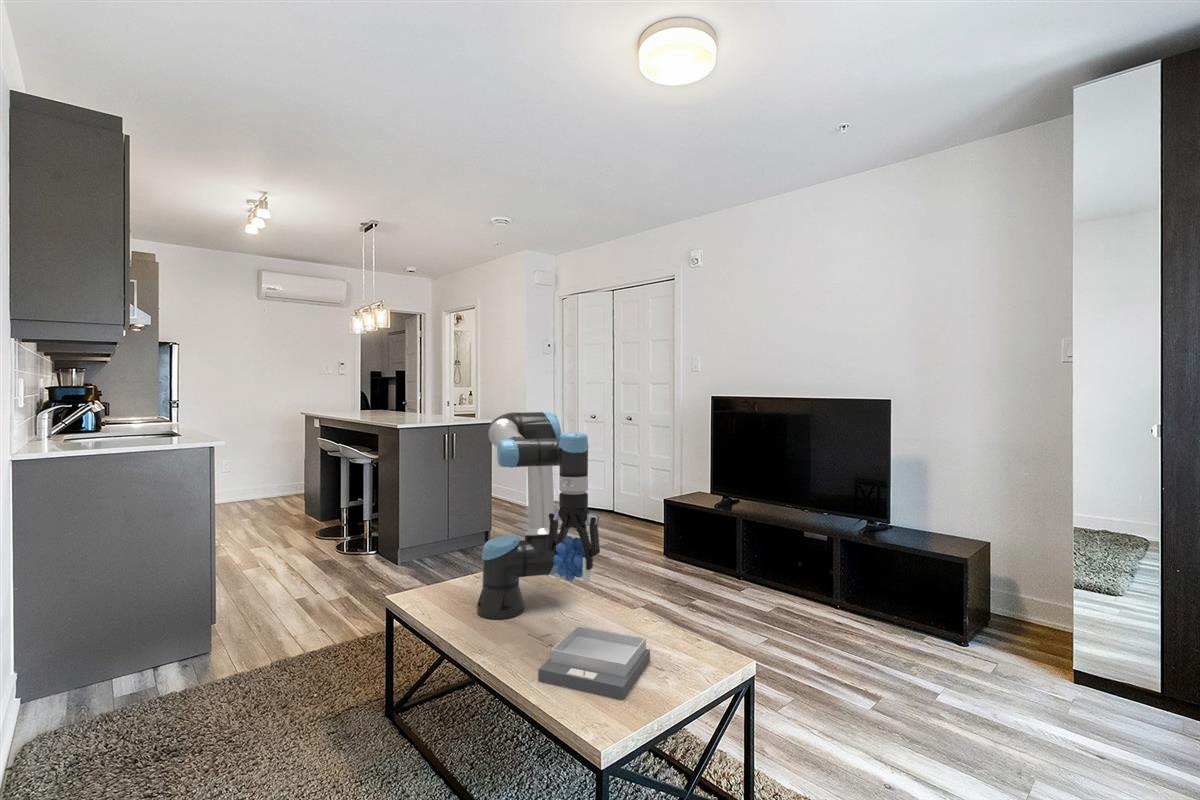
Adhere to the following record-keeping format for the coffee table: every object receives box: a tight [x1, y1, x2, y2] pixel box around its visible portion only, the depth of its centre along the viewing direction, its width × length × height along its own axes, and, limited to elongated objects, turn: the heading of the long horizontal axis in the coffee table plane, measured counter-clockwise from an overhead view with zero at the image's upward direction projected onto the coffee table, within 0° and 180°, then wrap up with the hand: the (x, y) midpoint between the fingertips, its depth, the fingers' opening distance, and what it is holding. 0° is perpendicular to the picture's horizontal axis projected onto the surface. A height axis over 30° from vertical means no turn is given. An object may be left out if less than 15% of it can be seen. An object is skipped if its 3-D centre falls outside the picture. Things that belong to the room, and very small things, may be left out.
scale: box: [537, 625, 651, 701], centre depth 146 cm, size 22×21×6 cm
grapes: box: [553, 535, 585, 582], centre depth 150 cm, size 12×7×12 cm, turn 133°
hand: (573, 579), depth 150 cm, fingers closed on grapes, 7 cm apart
